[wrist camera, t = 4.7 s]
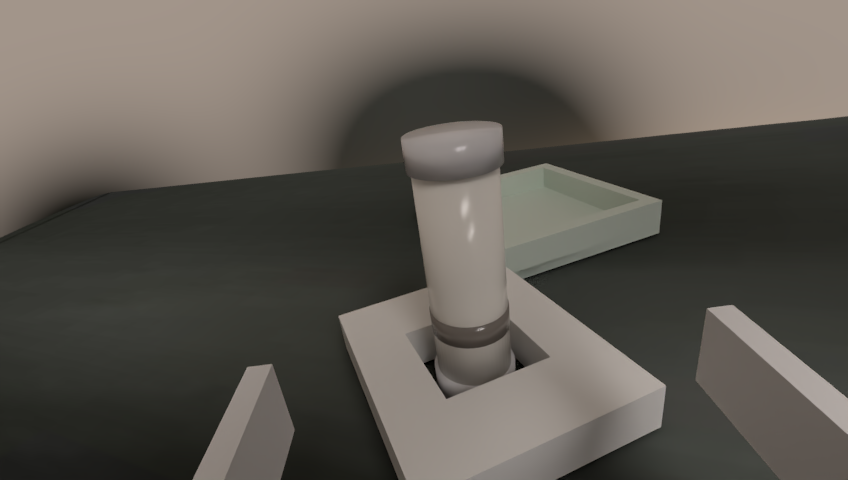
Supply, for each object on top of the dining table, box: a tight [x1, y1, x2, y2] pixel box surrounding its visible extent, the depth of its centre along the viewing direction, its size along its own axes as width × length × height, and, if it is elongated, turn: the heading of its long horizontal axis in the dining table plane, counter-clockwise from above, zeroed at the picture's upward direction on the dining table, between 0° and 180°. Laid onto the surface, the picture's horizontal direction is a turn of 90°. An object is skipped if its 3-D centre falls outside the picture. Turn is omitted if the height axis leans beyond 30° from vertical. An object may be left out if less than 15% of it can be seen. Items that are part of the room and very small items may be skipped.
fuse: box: [401, 121, 516, 399], centre depth 22 cm, size 4×4×14 cm
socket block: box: [338, 267, 666, 480], centre depth 25 cm, size 14×12×2 cm
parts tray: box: [500, 163, 662, 279], centre depth 42 cm, size 16×16×3 cm
